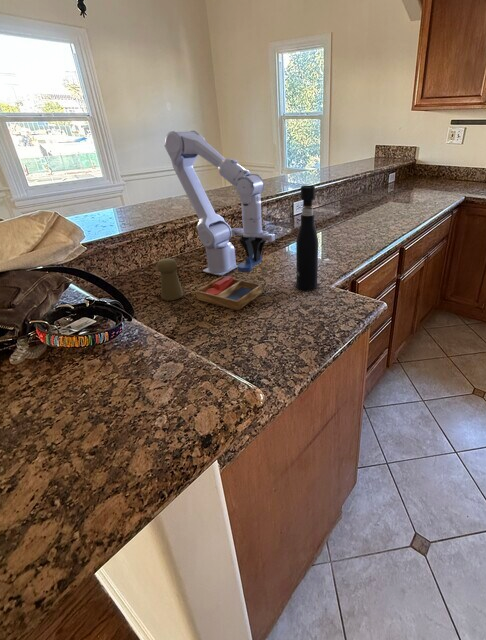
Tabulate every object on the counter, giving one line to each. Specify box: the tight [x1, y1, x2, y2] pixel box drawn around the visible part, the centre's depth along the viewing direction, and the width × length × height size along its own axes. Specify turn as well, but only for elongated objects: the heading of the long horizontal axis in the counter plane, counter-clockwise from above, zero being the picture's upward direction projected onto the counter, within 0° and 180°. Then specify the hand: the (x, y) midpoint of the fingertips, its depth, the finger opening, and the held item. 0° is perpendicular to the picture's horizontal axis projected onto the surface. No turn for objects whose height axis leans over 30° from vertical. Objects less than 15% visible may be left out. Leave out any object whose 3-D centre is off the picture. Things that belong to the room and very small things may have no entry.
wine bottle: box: [295, 185, 319, 292], centre depth 102 cm, size 6×6×30 cm
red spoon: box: [205, 275, 234, 295], centre depth 103 cm, size 10×4×3 cm, turn 154°
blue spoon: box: [236, 252, 263, 273], centre depth 109 cm, size 10×4×3 cm, turn 155°
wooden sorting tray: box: [195, 275, 264, 311], centre depth 102 cm, size 12×14×3 cm
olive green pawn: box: [156, 258, 184, 301], centre depth 100 cm, size 6×6×11 cm
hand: (254, 259), depth 111 cm, fingers closed on blue spoon, 2 cm apart
